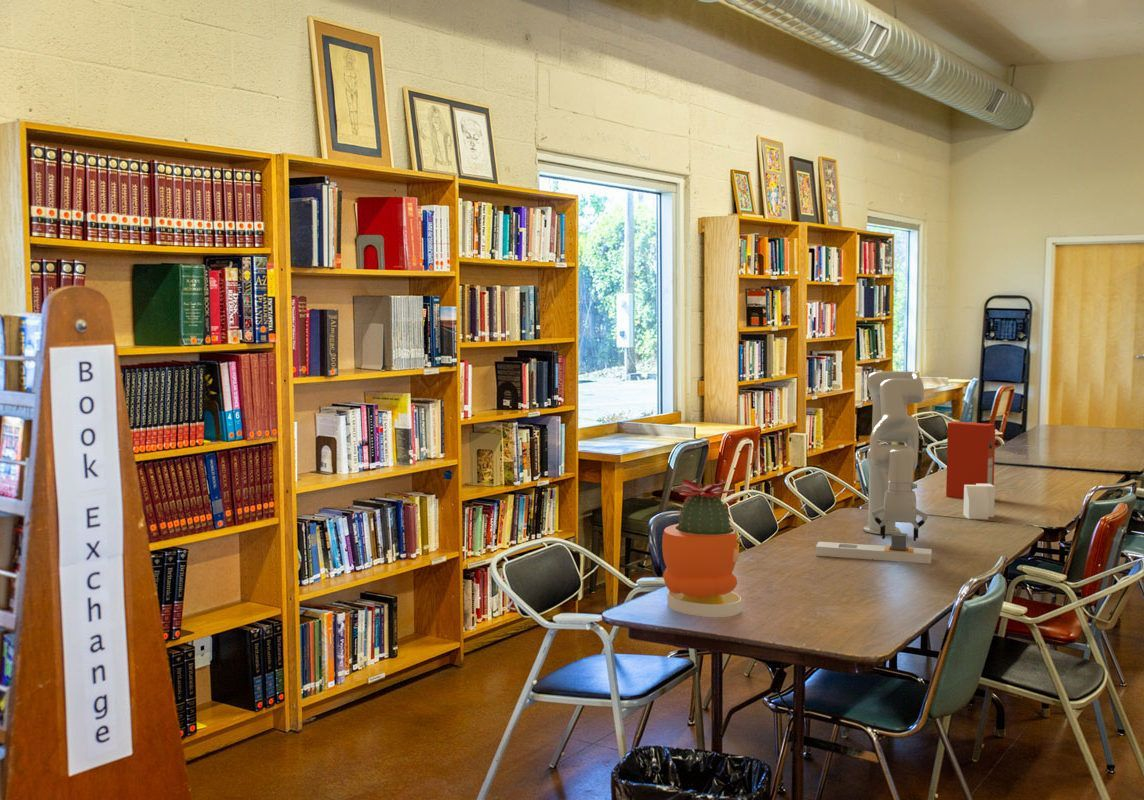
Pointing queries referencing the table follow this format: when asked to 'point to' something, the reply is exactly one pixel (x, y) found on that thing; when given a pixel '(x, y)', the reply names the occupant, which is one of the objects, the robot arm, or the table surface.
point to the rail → (873, 552)
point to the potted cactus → (701, 555)
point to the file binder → (969, 456)
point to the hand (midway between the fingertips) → (899, 539)
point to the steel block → (899, 541)
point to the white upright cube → (979, 501)
